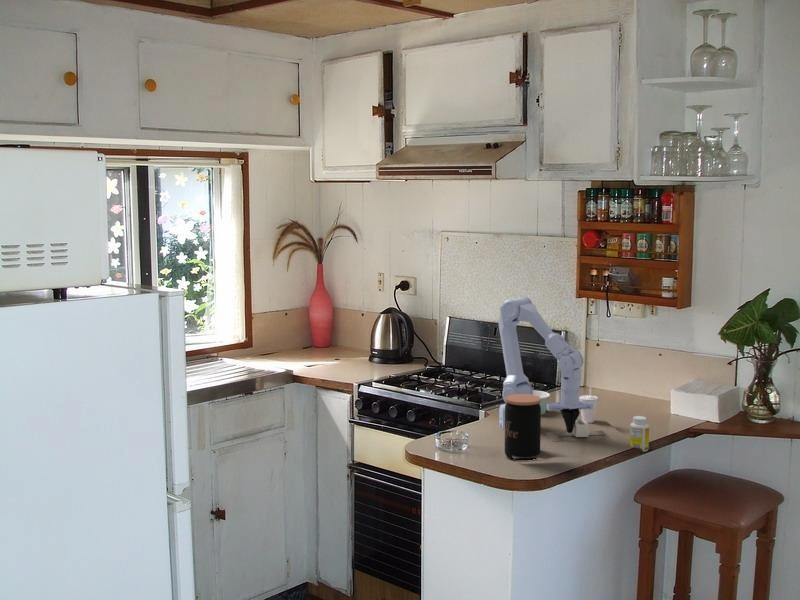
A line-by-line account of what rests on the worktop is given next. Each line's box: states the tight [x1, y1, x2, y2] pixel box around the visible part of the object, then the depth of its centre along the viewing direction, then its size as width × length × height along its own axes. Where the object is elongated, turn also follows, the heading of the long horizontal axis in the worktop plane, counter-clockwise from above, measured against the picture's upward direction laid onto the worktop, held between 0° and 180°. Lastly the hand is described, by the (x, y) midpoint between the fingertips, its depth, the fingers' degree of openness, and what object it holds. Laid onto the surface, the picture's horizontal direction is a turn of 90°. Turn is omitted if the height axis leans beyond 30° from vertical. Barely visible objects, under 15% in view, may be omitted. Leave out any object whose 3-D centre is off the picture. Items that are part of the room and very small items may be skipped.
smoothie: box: [579, 384, 599, 424], centre depth 308 cm, size 6×6×14 cm
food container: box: [533, 389, 551, 416], centre depth 327 cm, size 12×12×6 cm
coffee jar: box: [504, 394, 542, 461], centre depth 274 cm, size 11×11×18 cm
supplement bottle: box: [629, 415, 650, 453], centre depth 280 cm, size 6×6×10 cm
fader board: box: [545, 430, 613, 443], centre depth 291 cm, size 19×10×2 cm, turn 96°
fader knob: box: [572, 418, 590, 437], centre depth 291 cm, size 4×5×5 cm
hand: (569, 432), depth 290 cm, fingers closed
